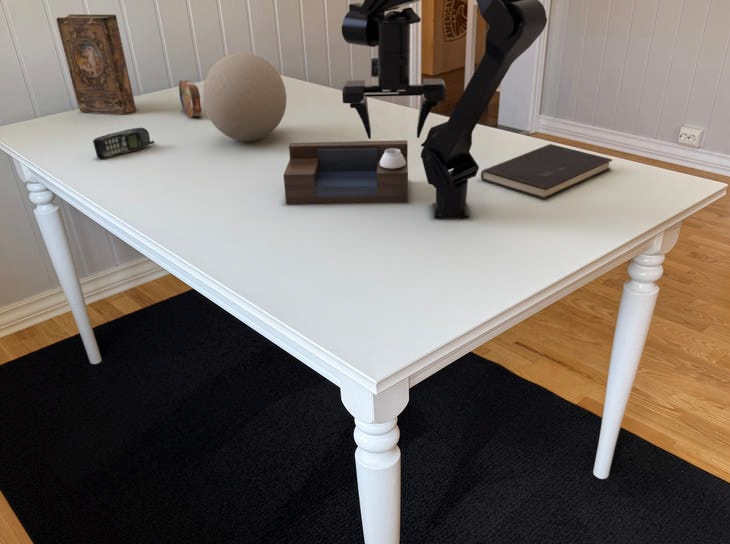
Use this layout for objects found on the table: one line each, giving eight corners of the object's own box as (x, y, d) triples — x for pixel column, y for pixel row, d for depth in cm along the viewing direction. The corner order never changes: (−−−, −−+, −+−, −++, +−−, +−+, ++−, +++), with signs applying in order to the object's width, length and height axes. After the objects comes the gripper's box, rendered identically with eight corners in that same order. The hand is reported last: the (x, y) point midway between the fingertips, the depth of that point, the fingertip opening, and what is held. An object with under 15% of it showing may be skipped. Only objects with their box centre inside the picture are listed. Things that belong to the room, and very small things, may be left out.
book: (139, 109, 199) (119, 14, 184) (128, 114, 194) (107, 17, 180) (90, 107, 203) (67, 14, 189) (79, 112, 199) (55, 17, 184)
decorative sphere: (196, 150, 165) (181, 62, 154) (228, 126, 181) (216, 45, 170) (274, 153, 161) (265, 63, 150) (299, 128, 177) (293, 45, 165)
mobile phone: (94, 140, 159) (153, 125, 166) (89, 137, 161) (148, 122, 168) (100, 161, 162) (158, 145, 169) (95, 158, 164) (152, 142, 171)
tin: (181, 108, 198) (175, 77, 193) (191, 106, 199) (186, 76, 194) (193, 120, 187) (188, 88, 182) (205, 119, 188) (200, 87, 183)
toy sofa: (407, 202, 133) (408, 159, 128) (286, 204, 135) (282, 162, 130) (407, 180, 143) (407, 140, 138) (293, 182, 145) (290, 142, 140)
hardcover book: (610, 169, 144) (612, 159, 142) (544, 200, 132) (546, 188, 130) (546, 153, 154) (547, 143, 152) (480, 180, 142) (481, 169, 140)
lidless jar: (410, 164, 133) (390, 160, 136) (410, 149, 132) (390, 145, 134) (395, 172, 130) (374, 167, 133) (395, 156, 129) (374, 152, 131)
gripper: (443, 39, 127) (440, 124, 136) (344, 42, 129) (347, 126, 137) (447, 52, 118) (443, 142, 127) (340, 54, 119) (344, 143, 128)
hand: (393, 137), depth 130 cm, fingers open, 9 cm apart
